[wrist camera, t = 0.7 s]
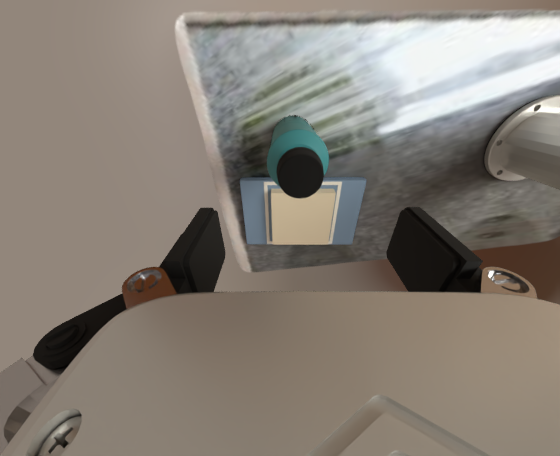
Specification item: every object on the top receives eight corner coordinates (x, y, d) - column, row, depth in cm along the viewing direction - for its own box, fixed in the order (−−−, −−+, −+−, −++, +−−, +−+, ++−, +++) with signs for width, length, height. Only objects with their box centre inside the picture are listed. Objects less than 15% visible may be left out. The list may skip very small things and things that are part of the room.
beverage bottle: (272, 157, 36) (264, 216, 19) (270, 112, 32) (257, 138, 16) (311, 156, 36) (336, 214, 19) (313, 111, 32) (346, 135, 15)
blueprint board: (363, 177, 38) (370, 184, 35) (349, 240, 45) (354, 250, 42) (241, 177, 38) (237, 184, 35) (248, 239, 46) (245, 250, 43)
